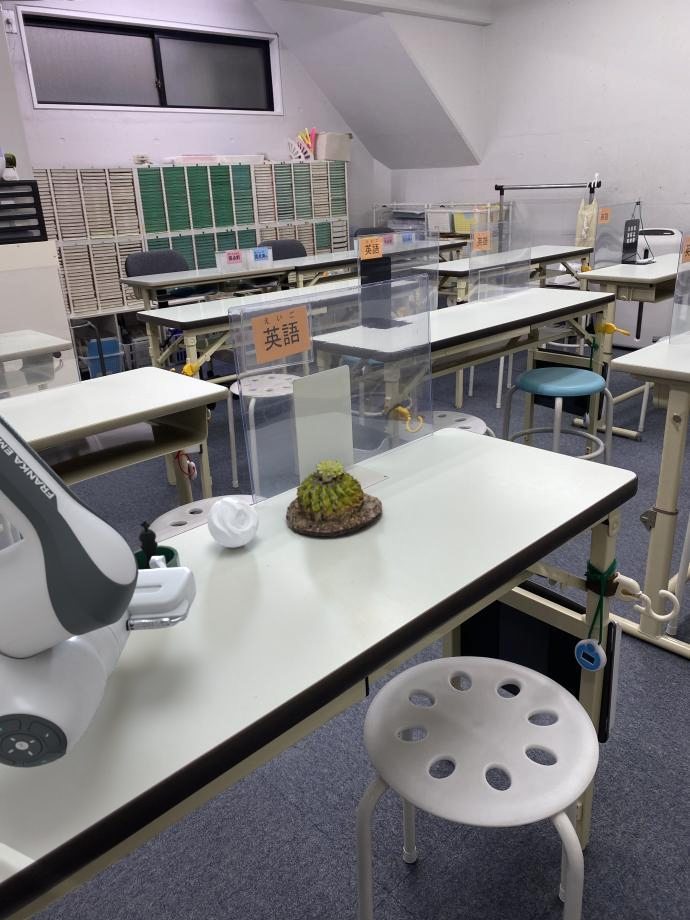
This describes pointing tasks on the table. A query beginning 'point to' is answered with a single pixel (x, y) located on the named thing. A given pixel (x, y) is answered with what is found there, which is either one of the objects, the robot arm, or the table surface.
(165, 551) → the green round container
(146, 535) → the chess piece
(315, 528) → the cactus
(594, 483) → the table surface
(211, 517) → the white swirled ball
